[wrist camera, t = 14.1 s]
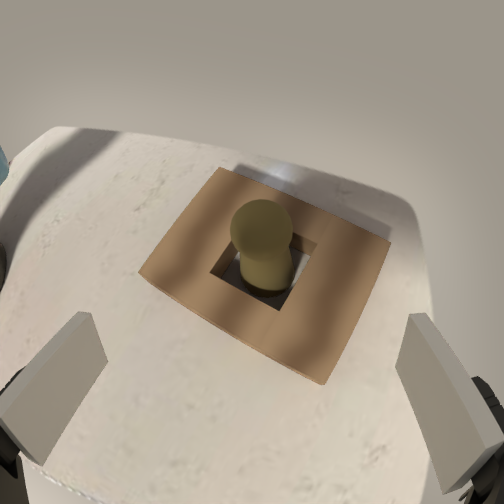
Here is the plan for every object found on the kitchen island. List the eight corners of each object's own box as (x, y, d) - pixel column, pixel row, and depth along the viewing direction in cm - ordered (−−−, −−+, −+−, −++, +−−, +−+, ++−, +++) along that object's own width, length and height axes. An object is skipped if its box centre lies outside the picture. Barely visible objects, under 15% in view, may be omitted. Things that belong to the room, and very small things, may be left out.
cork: (261, 237, 35) (251, 177, 25) (305, 264, 33) (313, 209, 23) (229, 278, 33) (205, 228, 23) (274, 308, 31) (269, 268, 21)
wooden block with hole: (150, 283, 34) (137, 272, 31) (224, 184, 39) (219, 166, 36) (320, 384, 27) (324, 384, 24) (382, 256, 32) (391, 242, 29)
